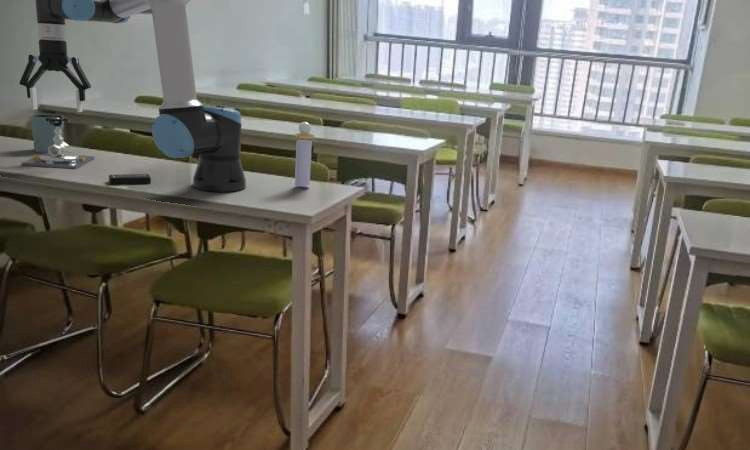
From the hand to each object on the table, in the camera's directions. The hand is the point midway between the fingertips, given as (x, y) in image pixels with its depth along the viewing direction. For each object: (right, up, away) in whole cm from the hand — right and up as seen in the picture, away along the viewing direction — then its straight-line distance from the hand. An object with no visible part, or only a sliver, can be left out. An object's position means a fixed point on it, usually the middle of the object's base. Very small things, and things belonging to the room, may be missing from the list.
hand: (57, 110), depth 201 cm
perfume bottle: (+76, -24, -2) cm, 80 cm away
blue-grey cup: (-13, -10, +20) cm, 26 cm away
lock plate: (-2, -15, +5) cm, 16 cm away
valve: (-1, -14, +4) cm, 14 cm away
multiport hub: (+27, -24, -13) cm, 38 cm away
